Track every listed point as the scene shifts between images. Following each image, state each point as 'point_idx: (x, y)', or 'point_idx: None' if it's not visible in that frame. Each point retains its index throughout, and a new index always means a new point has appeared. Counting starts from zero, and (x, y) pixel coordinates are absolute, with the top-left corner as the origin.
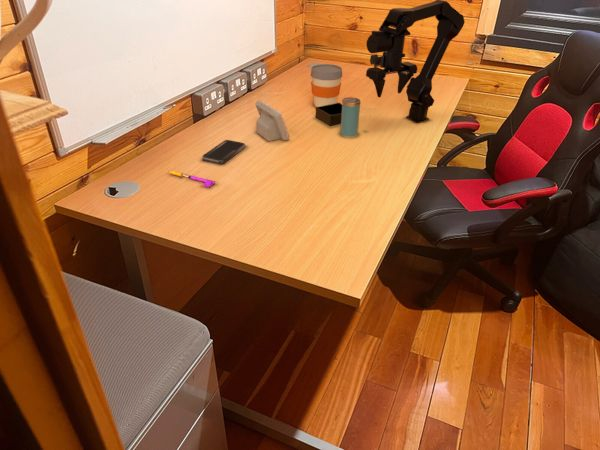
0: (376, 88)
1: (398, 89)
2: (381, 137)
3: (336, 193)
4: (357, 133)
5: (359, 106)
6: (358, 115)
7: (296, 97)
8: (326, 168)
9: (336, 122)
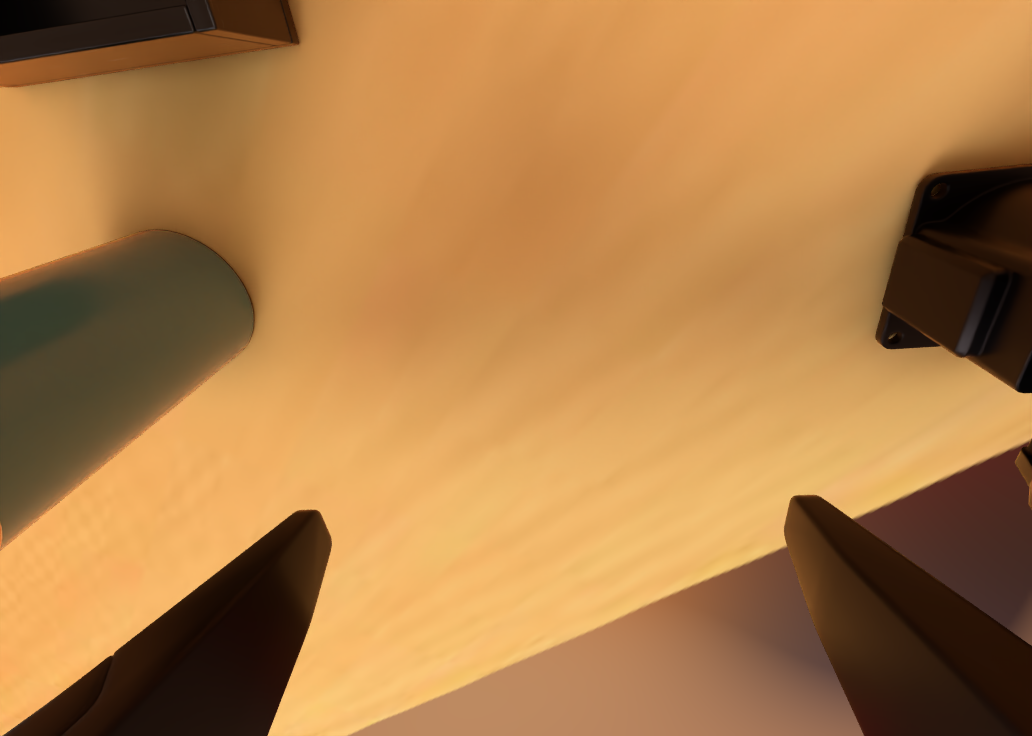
0: (143, 661)
1: (820, 563)
2: (412, 435)
3: (56, 690)
4: (238, 352)
5: (12, 540)
6: (104, 464)
7: None
8: (13, 577)
9: (46, 75)
